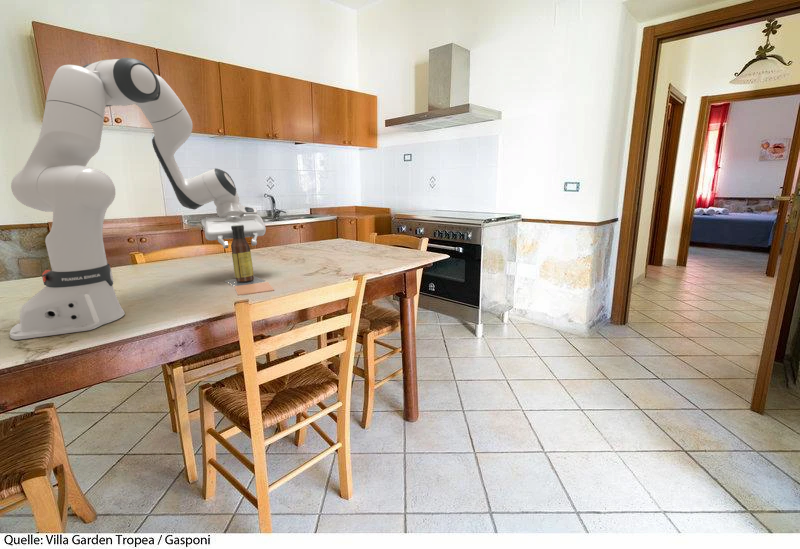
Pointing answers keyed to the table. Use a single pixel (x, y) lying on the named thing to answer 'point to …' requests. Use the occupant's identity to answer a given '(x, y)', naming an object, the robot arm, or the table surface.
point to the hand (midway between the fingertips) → (240, 245)
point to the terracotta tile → (253, 288)
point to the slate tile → (255, 280)
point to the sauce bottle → (241, 255)
